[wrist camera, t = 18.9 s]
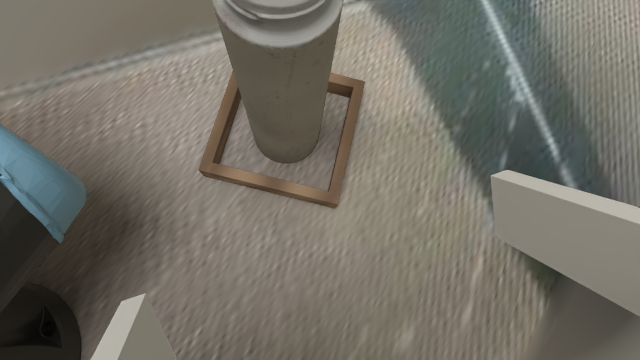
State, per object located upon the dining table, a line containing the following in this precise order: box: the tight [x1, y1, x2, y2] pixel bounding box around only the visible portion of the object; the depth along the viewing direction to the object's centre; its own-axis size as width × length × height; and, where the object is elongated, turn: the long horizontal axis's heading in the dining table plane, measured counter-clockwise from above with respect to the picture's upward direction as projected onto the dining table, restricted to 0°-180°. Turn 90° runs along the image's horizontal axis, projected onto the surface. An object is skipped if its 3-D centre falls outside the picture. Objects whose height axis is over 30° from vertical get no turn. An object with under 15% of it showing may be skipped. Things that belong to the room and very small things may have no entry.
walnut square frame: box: [198, 71, 365, 208], centre depth 41 cm, size 16×16×2 cm
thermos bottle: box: [212, 0, 344, 163], centre depth 28 cm, size 8×8×28 cm
